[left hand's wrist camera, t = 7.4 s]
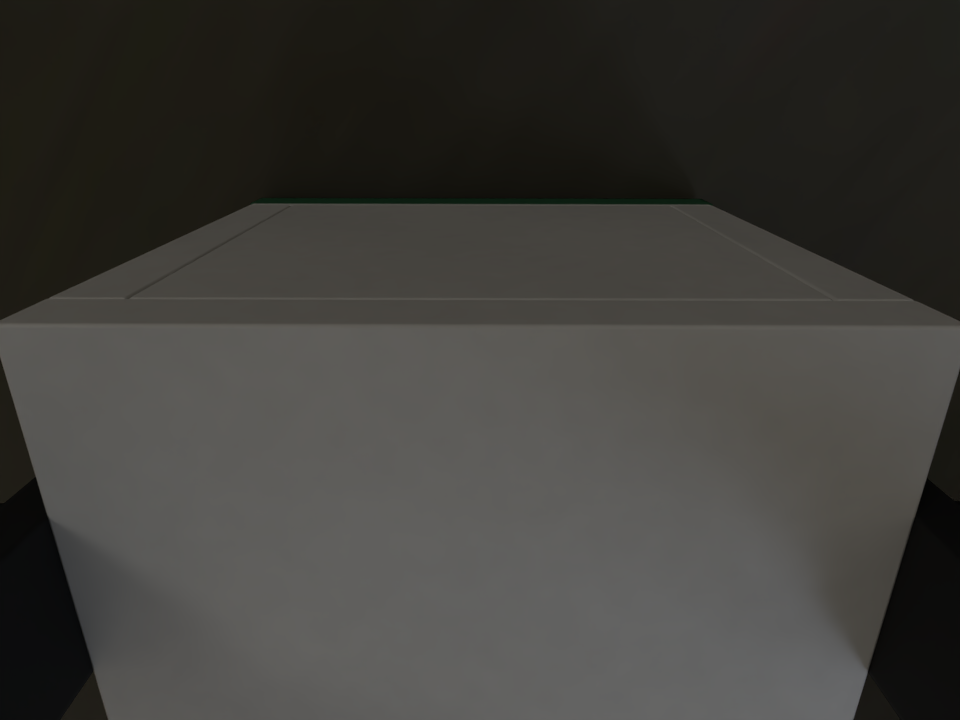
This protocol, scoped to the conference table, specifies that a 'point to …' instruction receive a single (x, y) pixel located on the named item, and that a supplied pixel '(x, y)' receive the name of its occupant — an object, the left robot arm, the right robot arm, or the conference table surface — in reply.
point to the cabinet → (480, 463)
